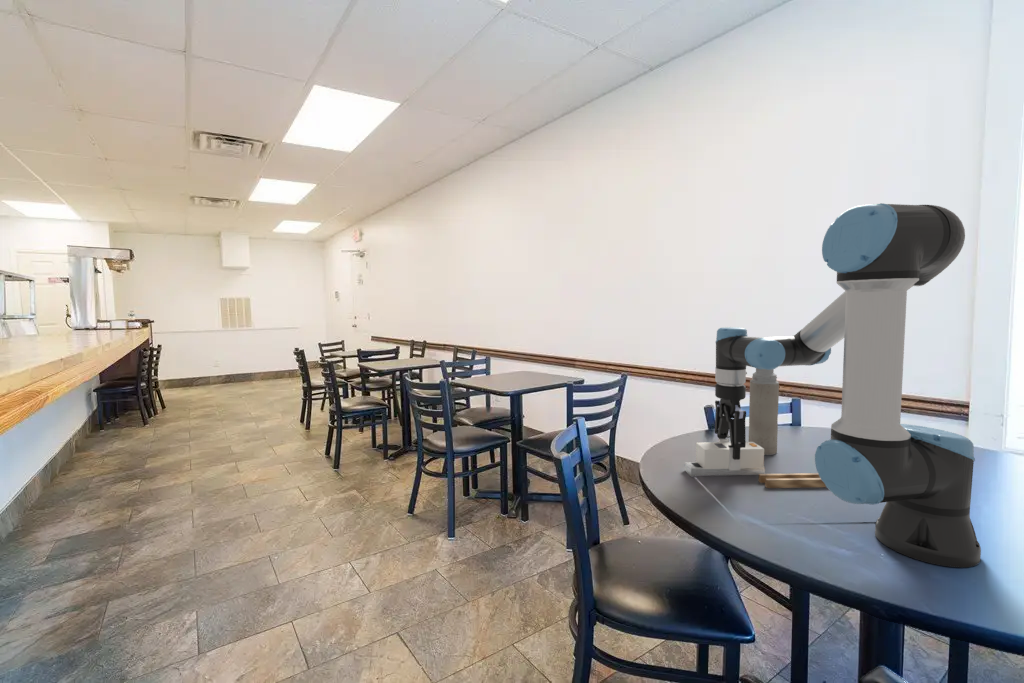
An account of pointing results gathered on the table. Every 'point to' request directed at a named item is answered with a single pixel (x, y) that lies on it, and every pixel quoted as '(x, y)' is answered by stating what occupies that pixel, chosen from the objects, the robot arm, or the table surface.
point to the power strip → (718, 455)
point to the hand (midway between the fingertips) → (728, 465)
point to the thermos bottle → (764, 410)
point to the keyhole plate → (719, 470)
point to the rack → (791, 480)
